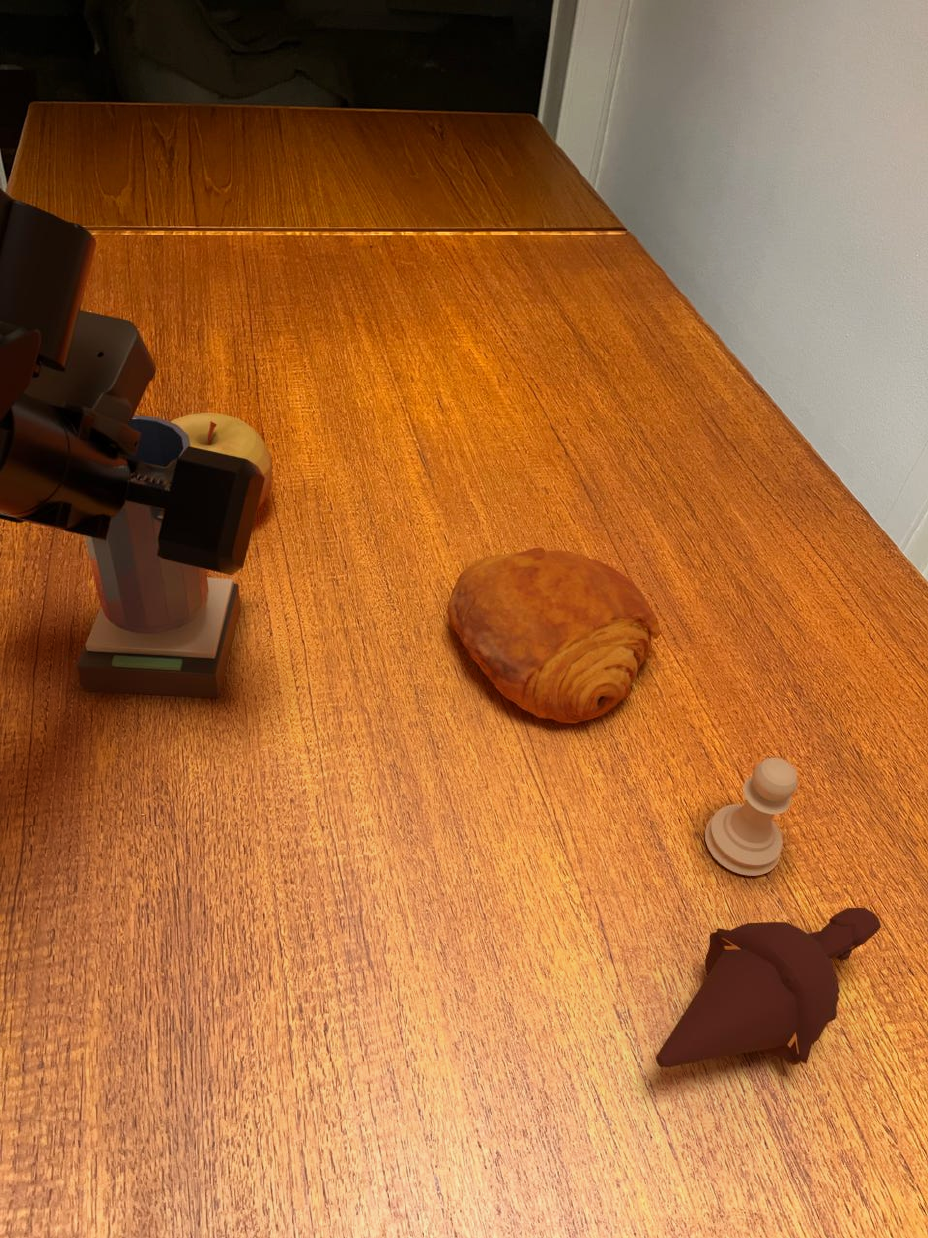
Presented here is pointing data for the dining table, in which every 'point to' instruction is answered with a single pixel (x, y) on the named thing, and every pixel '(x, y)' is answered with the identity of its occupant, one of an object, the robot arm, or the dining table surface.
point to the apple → (229, 441)
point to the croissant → (554, 630)
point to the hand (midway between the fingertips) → (152, 507)
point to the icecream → (767, 990)
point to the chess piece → (753, 821)
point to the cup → (146, 551)
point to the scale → (165, 652)
